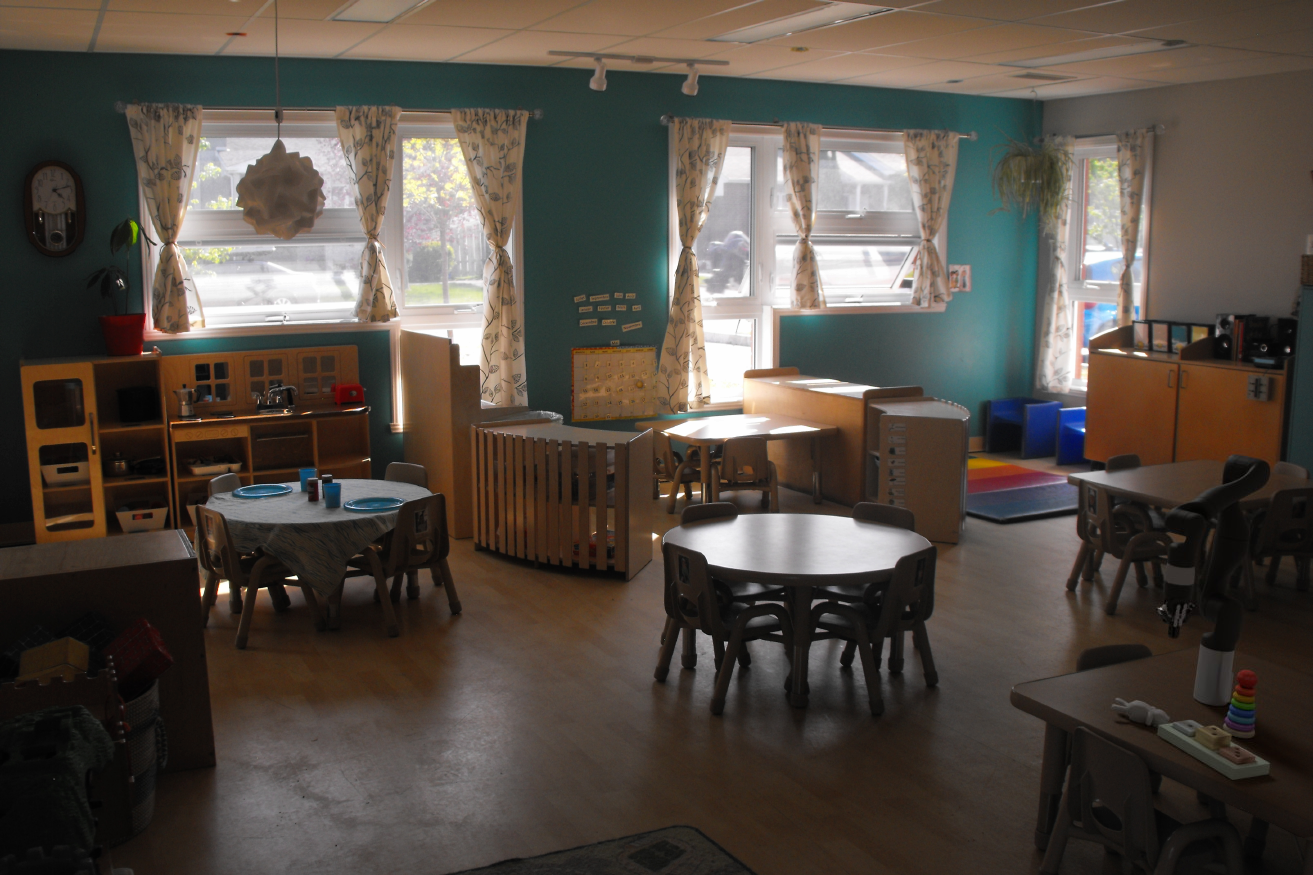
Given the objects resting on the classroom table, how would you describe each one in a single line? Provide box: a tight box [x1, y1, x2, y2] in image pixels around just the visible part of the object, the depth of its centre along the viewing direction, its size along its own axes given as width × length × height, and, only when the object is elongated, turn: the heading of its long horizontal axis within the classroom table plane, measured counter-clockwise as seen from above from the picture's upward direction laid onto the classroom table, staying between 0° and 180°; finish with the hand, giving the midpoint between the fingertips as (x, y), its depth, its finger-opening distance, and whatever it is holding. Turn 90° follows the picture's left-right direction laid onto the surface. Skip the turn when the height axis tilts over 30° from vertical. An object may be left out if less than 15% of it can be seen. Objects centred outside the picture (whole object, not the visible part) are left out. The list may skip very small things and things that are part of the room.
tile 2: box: [1195, 725, 1233, 751], centre depth 289 cm, size 6×6×4 cm
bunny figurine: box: [1110, 697, 1171, 729], centre depth 308 cm, size 10×5×15 cm
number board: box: [1156, 719, 1271, 781], centre depth 289 cm, size 12×26×3 cm, turn 18°
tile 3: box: [1218, 745, 1257, 765], centre depth 282 cm, size 6×6×4 cm
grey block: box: [1172, 719, 1203, 738], centre depth 296 cm, size 6×6×4 cm
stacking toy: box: [1222, 669, 1259, 739], centre depth 301 cm, size 8×8×19 cm
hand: (1173, 637), depth 305 cm, fingers closed
